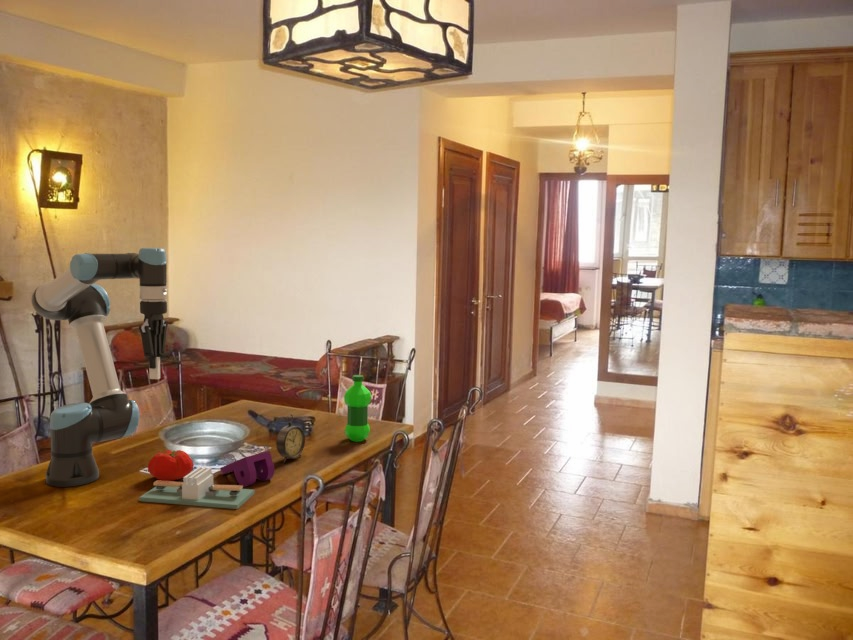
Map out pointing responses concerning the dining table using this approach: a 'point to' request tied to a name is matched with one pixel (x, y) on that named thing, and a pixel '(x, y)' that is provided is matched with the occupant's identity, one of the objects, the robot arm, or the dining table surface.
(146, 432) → the dining table surface
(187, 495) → the board
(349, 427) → the plastic bottle
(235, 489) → the strap
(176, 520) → the dining table surface
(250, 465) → the mounting bracket
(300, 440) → the alarm clock
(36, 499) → the dining table surface
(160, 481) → the strap
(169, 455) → the tomato
